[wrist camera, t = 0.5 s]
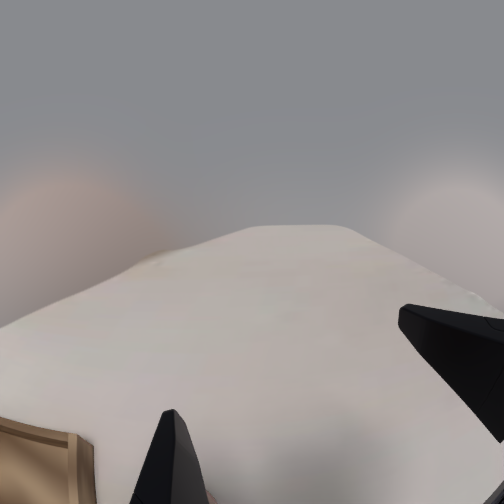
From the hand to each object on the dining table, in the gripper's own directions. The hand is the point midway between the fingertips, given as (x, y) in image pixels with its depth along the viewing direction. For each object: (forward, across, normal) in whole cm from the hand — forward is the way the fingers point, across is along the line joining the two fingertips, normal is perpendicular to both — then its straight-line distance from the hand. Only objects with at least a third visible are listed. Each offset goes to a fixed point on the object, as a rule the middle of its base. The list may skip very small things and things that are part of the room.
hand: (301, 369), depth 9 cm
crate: (-2, +24, +11) cm, 27 cm away
